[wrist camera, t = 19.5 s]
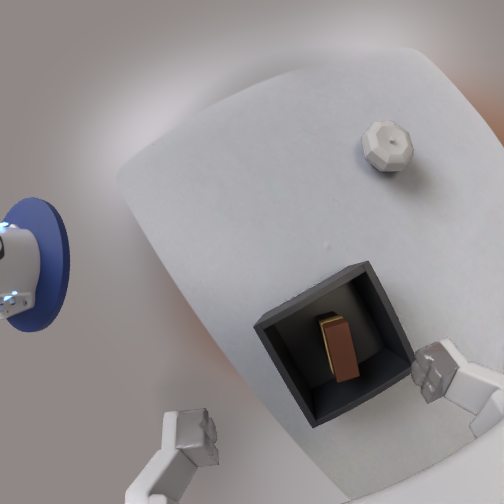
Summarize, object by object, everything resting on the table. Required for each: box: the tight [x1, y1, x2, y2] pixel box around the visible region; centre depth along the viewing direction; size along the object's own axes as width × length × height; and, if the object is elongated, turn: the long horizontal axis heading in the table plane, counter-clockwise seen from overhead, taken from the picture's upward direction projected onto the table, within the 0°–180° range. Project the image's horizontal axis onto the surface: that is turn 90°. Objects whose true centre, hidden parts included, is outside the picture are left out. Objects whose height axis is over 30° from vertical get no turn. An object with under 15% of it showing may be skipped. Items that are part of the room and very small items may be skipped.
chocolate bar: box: [316, 311, 360, 383], centre depth 32 cm, size 2×6×11 cm, turn 15°
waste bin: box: [253, 261, 416, 428], centre depth 33 cm, size 14×14×11 cm
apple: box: [361, 121, 414, 172], centre depth 37 cm, size 8×8×7 cm
